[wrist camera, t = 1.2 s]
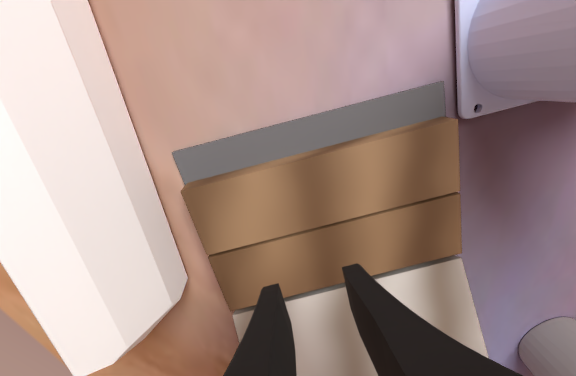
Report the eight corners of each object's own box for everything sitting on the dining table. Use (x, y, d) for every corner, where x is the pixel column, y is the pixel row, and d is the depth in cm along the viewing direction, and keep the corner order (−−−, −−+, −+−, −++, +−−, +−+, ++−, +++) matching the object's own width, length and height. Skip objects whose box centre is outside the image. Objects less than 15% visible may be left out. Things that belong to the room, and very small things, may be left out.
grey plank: (449, 253, 20) (461, 258, 19) (482, 375, 20) (497, 389, 19) (237, 306, 21) (232, 315, 19) (267, 427, 20) (265, 445, 19)
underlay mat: (440, 81, 17) (443, 81, 16) (453, 337, 24) (455, 340, 24) (173, 151, 17) (171, 152, 17) (266, 383, 24) (266, 386, 24)
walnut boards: (442, 116, 17) (457, 119, 16) (448, 241, 20) (461, 253, 19) (187, 182, 17) (180, 191, 16) (232, 295, 20) (230, 311, 19)
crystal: (214, 335, 17) (16, -230, 9) (77, 420, 14) (-465, -374, 5) (183, 278, 23) (48, -90, 15) (82, 328, 20) (-170, -115, 11)
